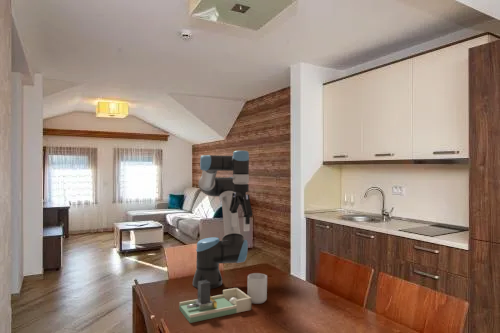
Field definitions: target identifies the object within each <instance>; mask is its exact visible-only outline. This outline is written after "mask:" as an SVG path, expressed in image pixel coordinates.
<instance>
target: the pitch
mask: <svg viewBox="0 0 500 333" xmlns="http://www.w3.org/2000/svg"><path fill="white" fill-rule="evenodd" d="M211 297H212V298H213V299H214V300H215V301H216V302H217V308H210V309H205V310H200V311H199V310H198V309H197V307H194V308H189V309H187V305H191V304H194V300H197V299H198V298H196V299H191V300H185V301H179V303H178V304H179V307H178V308H179V311H180V312H181V314H182V315H183V316H184V318H185V319H186V320H187V322H189V324H192V323H197V322H200V321H205V320H210V319H216V318H219V317H224V316H229V315H233V314H238V313H241V312H246V311H251V310H252V303H251V297H249V296H248V295H247V294H246V293H245V292H244V291H242V290H241V289H240V288H238V287H233V288H232V287H231V288H228V289H223V290H222V294H217V295H213V296H211ZM233 297H234V298H236V299H237V300H236V305H234V306H233V305H232V304H231V303H230V302H229V301H230V299H231V298H233Z"/></svg>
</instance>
